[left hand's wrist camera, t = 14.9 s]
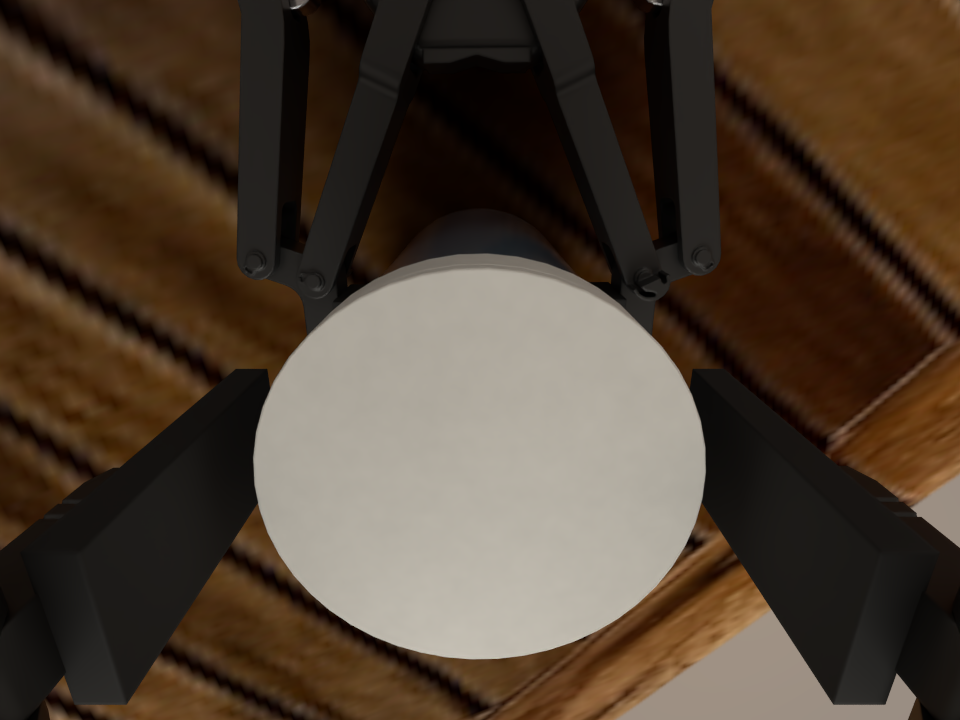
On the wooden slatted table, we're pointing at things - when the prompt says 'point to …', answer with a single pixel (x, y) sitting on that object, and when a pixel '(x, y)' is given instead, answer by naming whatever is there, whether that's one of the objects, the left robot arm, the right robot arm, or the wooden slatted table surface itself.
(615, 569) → the lid
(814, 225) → the wooden slatted table surface
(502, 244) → the jar
